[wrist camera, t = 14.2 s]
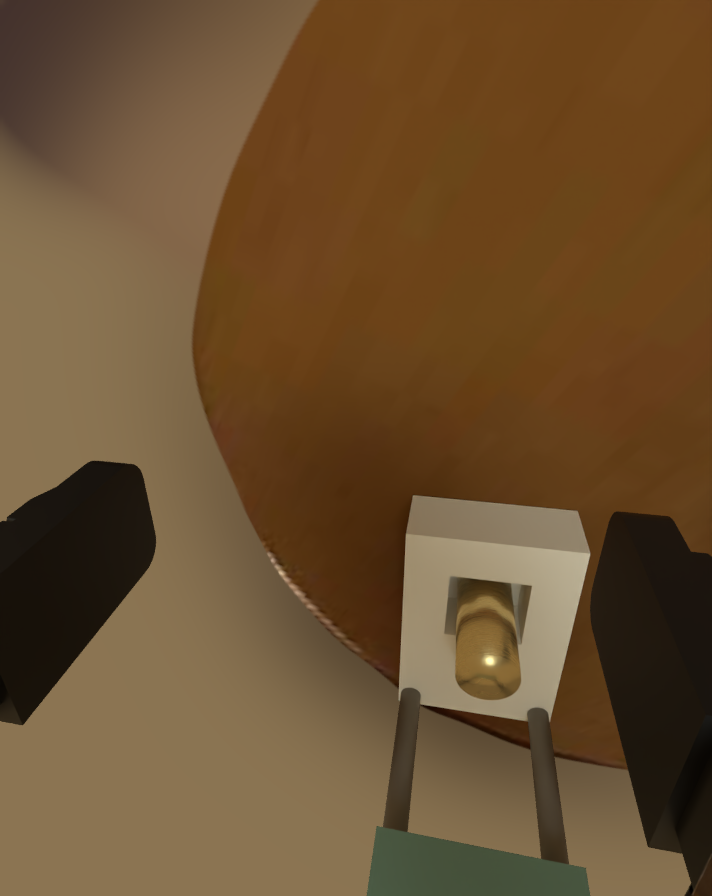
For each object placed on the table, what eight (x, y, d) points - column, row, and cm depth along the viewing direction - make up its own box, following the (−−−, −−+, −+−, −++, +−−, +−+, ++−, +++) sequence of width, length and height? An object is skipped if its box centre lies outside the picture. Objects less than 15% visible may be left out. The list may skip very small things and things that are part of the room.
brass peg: (513, 556, 42) (525, 659, 33) (506, 596, 43) (516, 704, 35) (459, 550, 42) (458, 649, 33) (455, 590, 44) (452, 694, 35)
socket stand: (577, 511, 40) (667, 811, 21) (542, 673, 48) (585, 995, 29) (413, 495, 42) (365, 757, 23) (404, 653, 50) (364, 943, 31)
